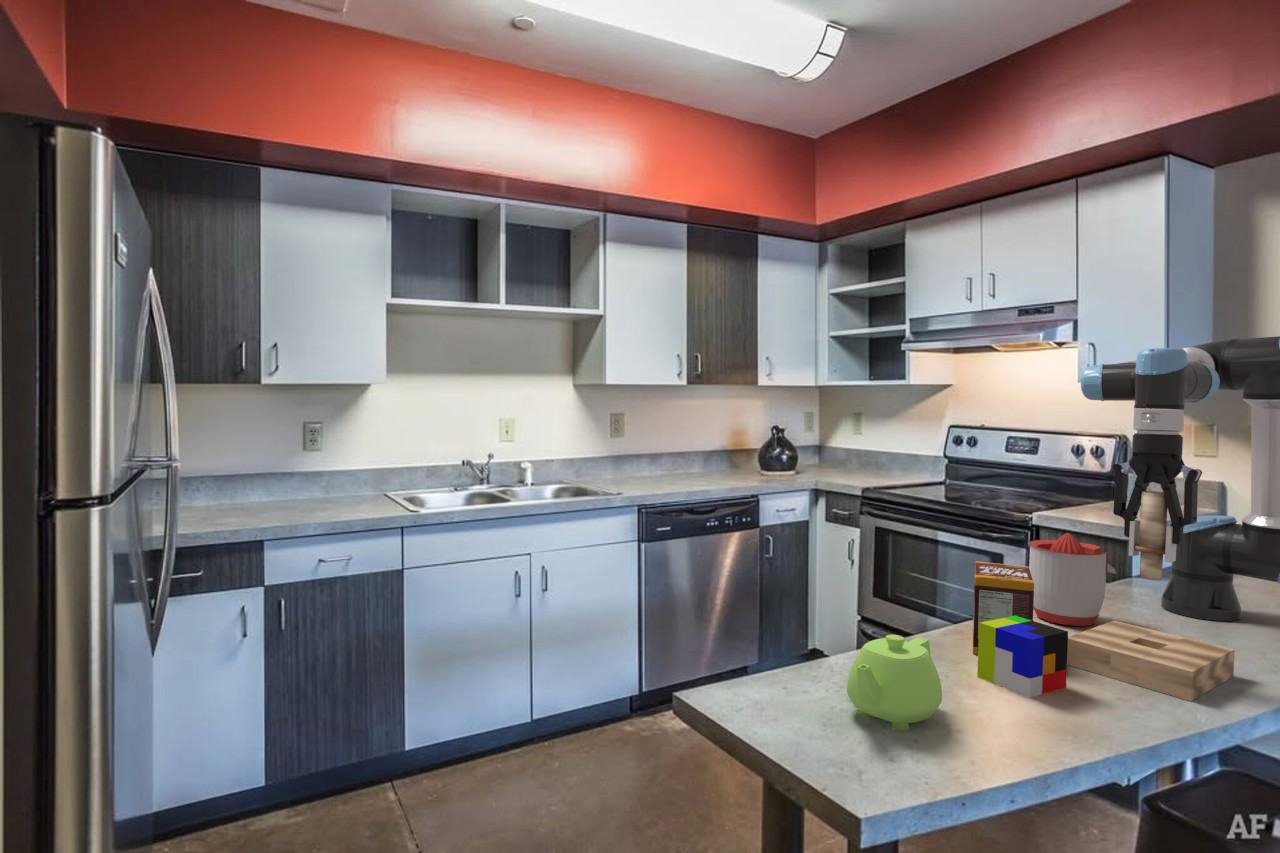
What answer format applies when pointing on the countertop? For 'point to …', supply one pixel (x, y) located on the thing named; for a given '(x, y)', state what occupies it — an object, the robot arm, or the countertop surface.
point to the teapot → (895, 681)
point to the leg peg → (1152, 534)
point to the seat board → (1151, 659)
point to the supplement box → (1001, 594)
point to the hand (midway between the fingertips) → (1151, 557)
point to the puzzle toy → (1022, 655)
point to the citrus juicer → (1068, 580)
